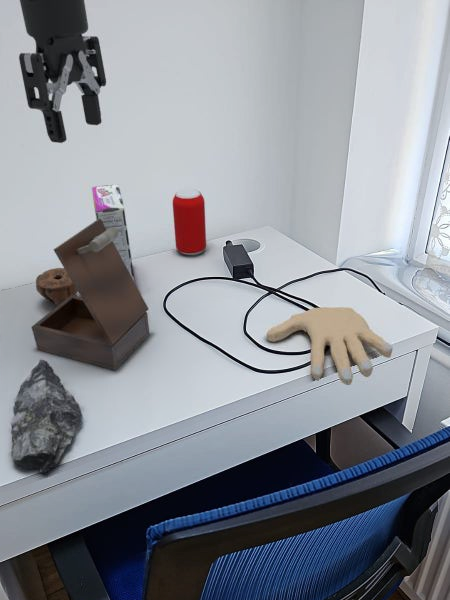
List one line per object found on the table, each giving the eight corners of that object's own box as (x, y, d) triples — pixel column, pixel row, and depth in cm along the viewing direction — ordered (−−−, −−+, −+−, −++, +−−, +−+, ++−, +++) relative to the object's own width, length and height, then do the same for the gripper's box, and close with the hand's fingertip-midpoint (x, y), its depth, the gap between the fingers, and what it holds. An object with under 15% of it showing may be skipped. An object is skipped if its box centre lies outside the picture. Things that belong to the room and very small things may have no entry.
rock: (6, 352, 84) (14, 375, 87) (3, 459, 68) (13, 483, 71) (70, 340, 86) (76, 364, 89) (82, 442, 70) (89, 467, 73)
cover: (53, 249, 78) (78, 240, 75) (96, 219, 86) (121, 210, 83) (109, 345, 85) (134, 340, 82) (145, 310, 92) (169, 304, 90)
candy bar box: (104, 270, 113) (90, 186, 102) (130, 267, 114) (119, 183, 103) (109, 298, 104) (94, 210, 94) (137, 295, 105) (125, 206, 95)
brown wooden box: (37, 349, 93) (31, 326, 90) (76, 316, 100) (71, 294, 97) (115, 370, 88) (111, 347, 85) (149, 334, 95) (147, 312, 93)
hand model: (381, 302, 97) (399, 359, 80) (379, 327, 99) (395, 388, 82) (268, 303, 99) (262, 359, 82) (269, 328, 101) (263, 387, 85)
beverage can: (212, 251, 118) (210, 192, 111) (188, 260, 115) (184, 201, 108) (194, 241, 122) (191, 184, 114) (170, 250, 119) (165, 192, 111)
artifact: (40, 294, 106) (34, 269, 103) (82, 288, 107) (77, 264, 104) (40, 316, 100) (34, 290, 97) (84, 309, 102) (79, 284, 98)
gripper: (59, -18, 75) (83, 117, 85) (-16, -6, 65) (21, 145, 75) (108, -19, 72) (127, 121, 83) (39, -7, 63) (70, 150, 73)
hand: (77, 132), depth 79 cm, fingers open, 8 cm apart
